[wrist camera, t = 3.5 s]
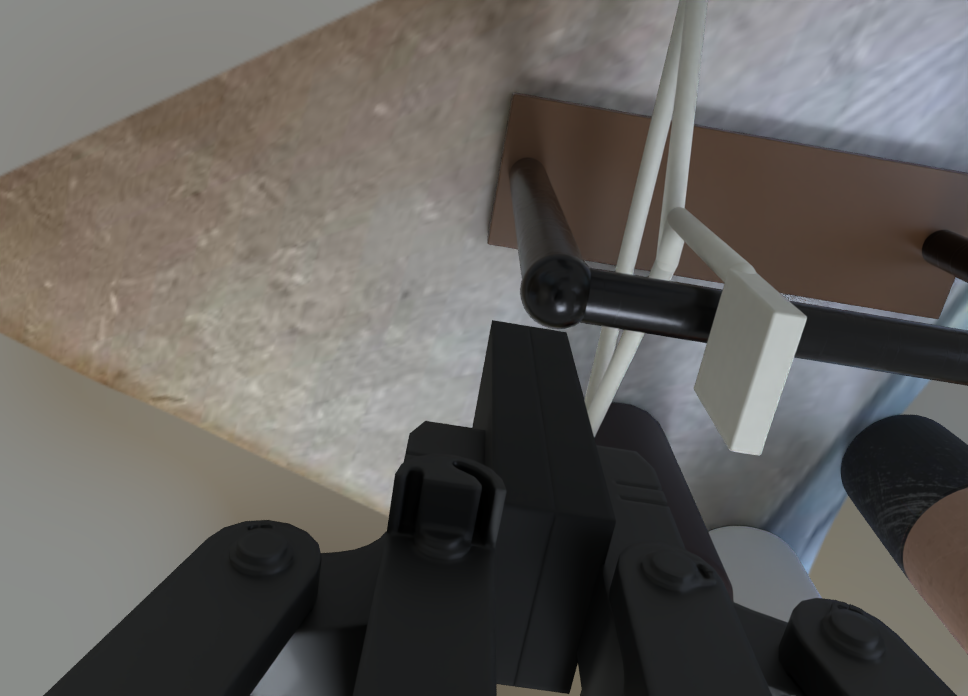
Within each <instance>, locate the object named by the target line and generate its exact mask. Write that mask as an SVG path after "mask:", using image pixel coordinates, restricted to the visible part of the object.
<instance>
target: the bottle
mask: <svg viewBox="0 0 968 696" xmlns="http://www.w3.org/2000/svg"><path fill="white" fill-rule="evenodd" d="M594 439H595V443H596V445H599V446H605V447H612V448H618V449H625V450H631V451H637V452H638V453H639V454H640V455H641V456H642V457H643V458H644V459H645V460H646V461H647V462H648V463H649V464H650V465H651V466H652V467H653V468H654V469H655V471H656V474H657V476H658V479H659V482H660V484H661V487H662V489H661V491H663V492H664V494H665V497H666V500H667V502H668V503H667V506H669V507H670V510H671V513H672V515H673V518H674V520H675V523H676V526H677V528H678V531H679V533H680V536H681V538H682V541H683V544H684V546H685V549H686V550H687V551H689V552H691V553H693V554H695V555H697V556H699V557H700V558H702V559H703V560H704V561H705V562H707V563H708V564H709V565H710V566H712V567H713V568H714V569H715V571H716V572H717V573H718V575H719V576H720V578H721V579H722V581H723V582H724V585H725V587H726V589H727V592H728V594H729V596H730V599H731V601H733V602H734V599H733V588H732V585H731V582H730V580H729V578H728V576H727V573H726V571H725V569H724V566H723V564H722V562H721V560H720V557H719V555H718V553H717V551H716V548H715V546H714V544H713V542H712V539H711V537H710V535H709V533H708V530H707V528H706V526H705V524H704V521H703V519H702V517H701V515H700V512H699V510H698V508H697V506H696V503H695V501H694V499H693V496H692V494H691V492H690V490H689V487H688V485H687V483H686V481H685V478H684V476H683V474H682V472H681V469H680V467H679V465H678V463H677V460H676V458H675V456H674V454H673V451H672V449H671V447H670V445H669V442H668V440H667V438H666V436H665V434H664V432H663V430H662V428H661V426H660V424H659V423H658V422H657V421H656V420H655V419H654V418H653V417H652V416H651V415H650V414H649V413H648V412H646V411H644V410H642V409H640V408H638V407H635V406H633V405H630V404H622V403H611V404H610V406H609V408H608V410H607V413H606V415H605V417H604V419H603V421H602V423H601V425H600V427H599V429H598V431H597V433H596V435H595V437H594Z"/></svg>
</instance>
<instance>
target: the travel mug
mask: <svg viewBox="0 0 968 696" xmlns="http://www.w3.org/2000/svg"><path fill="white" fill-rule="evenodd" d="M841 477H842V482H843V485H844V488H845V490H846V492H847V494H848V496H849V497H850V498H851V500H852V501H853V503H854V504H855V506H856V507H857V509H858V510H859V511H860V513H861V514H862V515H863V517H864V518H865V520H866V521H867V523H868V524H869V525H870V527H871V528H872V530H873V531H874V532H875V534H876V535H877V537H878V538H879V539H880V541H881V542H882V543H883V545H884V546H885V548H886V549H887V550H888V552H889V553H890V555H891V556H892V557H893V559H894V560H895V562H896V563H897V564H898V566H899V567H900V568H901V570H902V571H903V573H904V574H905V575H906V577H907V578H908V580H909V581H910V582H911V584H912V585H913V586H914V588H915V589H916V590H917V591H918V593H919V594H920V595H921V596H922V598H923V599H924V600H925V601H926V603H927V604H928V605H929V606H930V607H931V609H932V610H933V611H934V613H935V614H936V615H937V616H938V618H939V619H940V620H941V621H942V623H943V624H944V625H945V627H946V628H947V629H948V630H949V632H950V633H951V634H952V635H953V637H954V638H955V639H956V640H957V642H958V643H959V644H960V645H961V647H962V648H963V649H964V650H965V652H966V653H967V654H968V445H967V444H966V443H964V442H963V441H962V440H961V439H959V438H958V437H957V436H955V435H954V434H952V433H951V432H950V431H949V430H947V429H946V428H945V427H943V426H942V425H940V424H939V423H937V422H935V421H934V420H931V419H929V418H926V417H922V416H918V415H897V416H892V417H888V418H885V419H883V420H880V421H878V422H876V423H874V424H872V425H871V426H869V427H867V428H866V429H865V430H863V431H862V432H861V433H860V434H859V435H858V436H857V437H856V438H855V439H854V440H853V441H852V443H851V444H850V446H849V447H848V449H847V451H846V453H845V455H844V458H843V461H842V466H841Z"/></svg>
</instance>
